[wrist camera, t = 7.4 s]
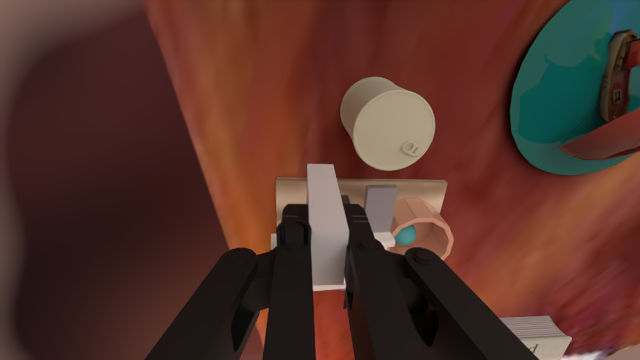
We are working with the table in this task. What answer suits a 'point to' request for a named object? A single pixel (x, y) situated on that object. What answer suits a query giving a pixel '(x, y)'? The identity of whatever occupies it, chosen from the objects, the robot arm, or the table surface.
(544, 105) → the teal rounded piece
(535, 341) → the book
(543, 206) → the table surface
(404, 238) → the ball
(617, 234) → the table surface
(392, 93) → the can
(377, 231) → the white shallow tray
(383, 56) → the table surface
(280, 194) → the stand
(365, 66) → the table surface
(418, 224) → the cup
